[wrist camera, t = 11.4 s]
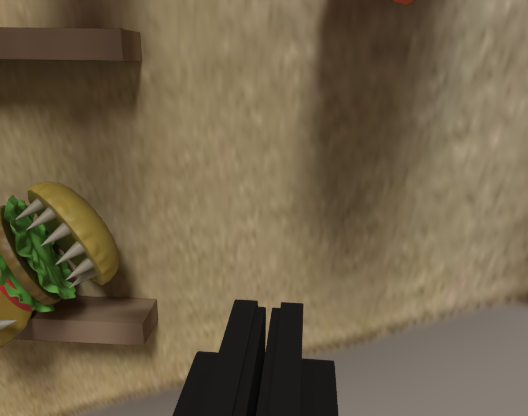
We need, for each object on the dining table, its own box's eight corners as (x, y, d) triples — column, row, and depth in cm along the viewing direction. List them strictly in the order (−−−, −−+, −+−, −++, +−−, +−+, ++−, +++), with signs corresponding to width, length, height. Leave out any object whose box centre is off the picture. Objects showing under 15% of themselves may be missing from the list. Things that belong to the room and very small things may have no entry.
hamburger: (144, 295, 25) (-71, 416, 23) (130, 243, 32) (-41, 334, 30) (68, 177, 22) (-195, 306, 20) (69, 145, 28) (-130, 240, 26)
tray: (139, 32, 25) (120, 28, 23) (157, 319, 31) (143, 345, 28) (-76, 30, 26) (-122, 26, 23) (-22, 311, 32) (-54, 335, 29)
